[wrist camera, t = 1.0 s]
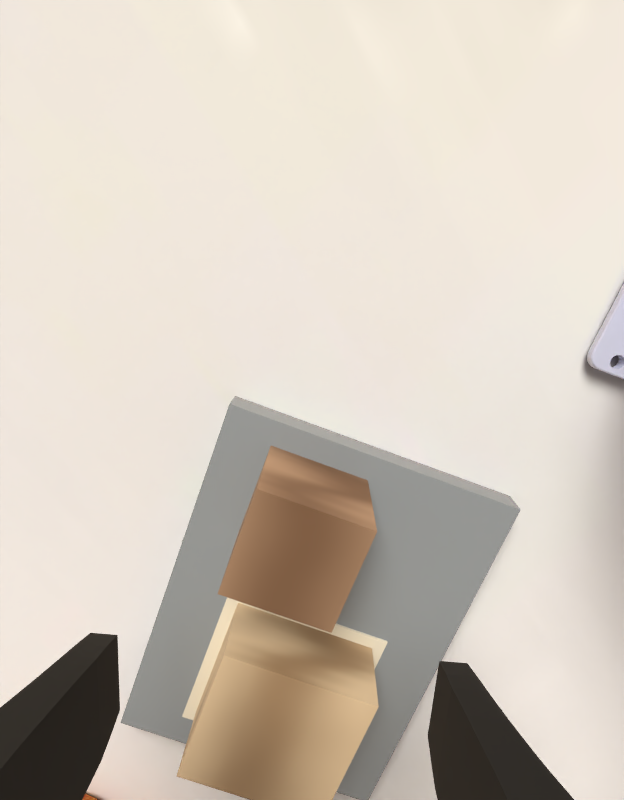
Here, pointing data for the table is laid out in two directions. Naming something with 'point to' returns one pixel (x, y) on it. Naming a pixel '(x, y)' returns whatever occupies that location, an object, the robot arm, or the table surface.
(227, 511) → the build board
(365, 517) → the walnut block
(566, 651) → the table surface
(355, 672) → the oak base
